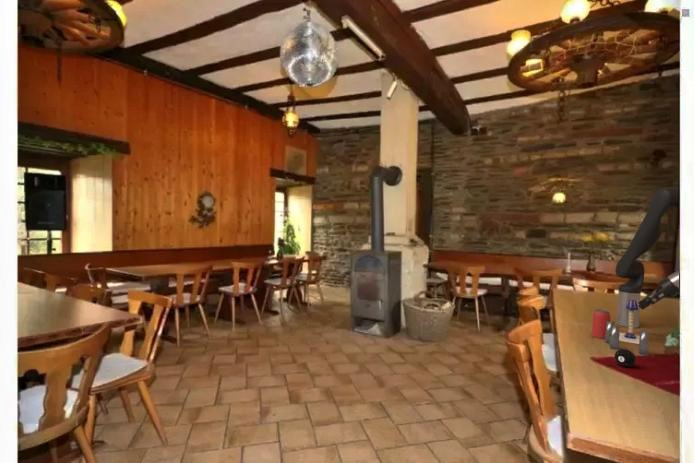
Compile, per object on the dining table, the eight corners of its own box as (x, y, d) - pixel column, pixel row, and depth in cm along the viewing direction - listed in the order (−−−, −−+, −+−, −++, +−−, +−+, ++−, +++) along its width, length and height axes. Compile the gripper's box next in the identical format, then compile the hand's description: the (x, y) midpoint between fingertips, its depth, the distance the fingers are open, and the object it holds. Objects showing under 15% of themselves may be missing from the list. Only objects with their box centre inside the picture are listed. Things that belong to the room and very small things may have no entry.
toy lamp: (621, 335, 175) (623, 298, 175) (630, 335, 176) (633, 299, 175) (629, 338, 170) (631, 301, 170) (639, 339, 171) (641, 301, 170)
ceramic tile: (646, 339, 175) (646, 336, 175) (646, 345, 165) (647, 343, 165) (613, 333, 182) (613, 331, 182) (612, 339, 172) (612, 337, 172)
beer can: (612, 340, 171) (613, 312, 171) (595, 338, 173) (597, 311, 172) (605, 335, 178) (606, 309, 177) (589, 334, 179) (590, 308, 179)
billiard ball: (638, 367, 138) (639, 350, 138) (630, 370, 135) (631, 353, 134) (619, 361, 143) (620, 345, 143) (611, 364, 140) (612, 348, 140)
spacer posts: (606, 341, 169) (607, 320, 169) (652, 351, 156) (654, 329, 156) (597, 345, 162) (598, 323, 162) (644, 356, 150) (646, 333, 149)
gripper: (666, 275, 171) (632, 297, 178) (669, 278, 160) (632, 301, 167) (681, 288, 168) (646, 310, 175) (685, 292, 157) (647, 316, 164)
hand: (640, 306), depth 171 cm, fingers open, 8 cm apart
